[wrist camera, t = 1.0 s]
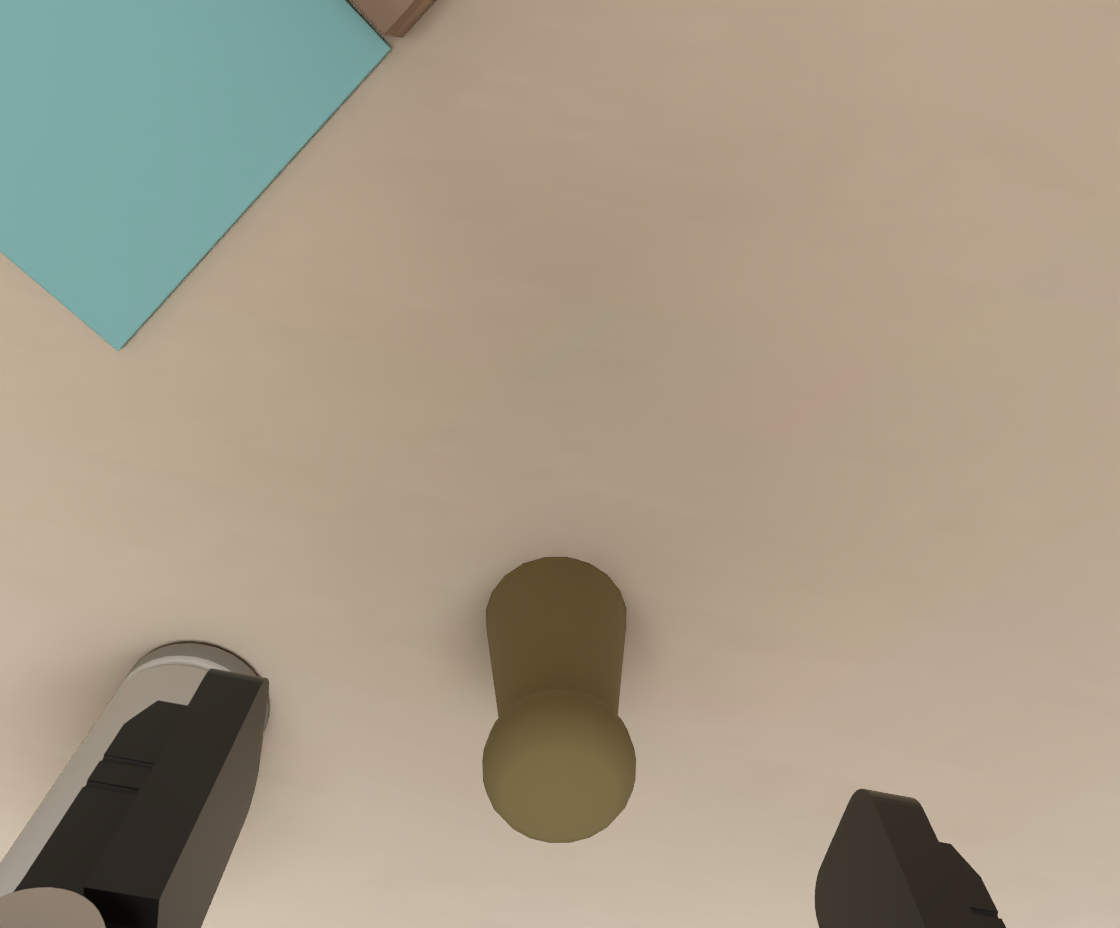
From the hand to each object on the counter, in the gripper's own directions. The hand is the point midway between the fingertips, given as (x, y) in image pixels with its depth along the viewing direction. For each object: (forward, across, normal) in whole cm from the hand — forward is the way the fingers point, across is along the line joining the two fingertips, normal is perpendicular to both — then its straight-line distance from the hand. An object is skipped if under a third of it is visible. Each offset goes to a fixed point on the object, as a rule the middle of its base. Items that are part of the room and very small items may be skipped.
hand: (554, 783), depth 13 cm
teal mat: (+25, +18, -6) cm, 31 cm away
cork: (+25, -3, +13) cm, 29 cm away
